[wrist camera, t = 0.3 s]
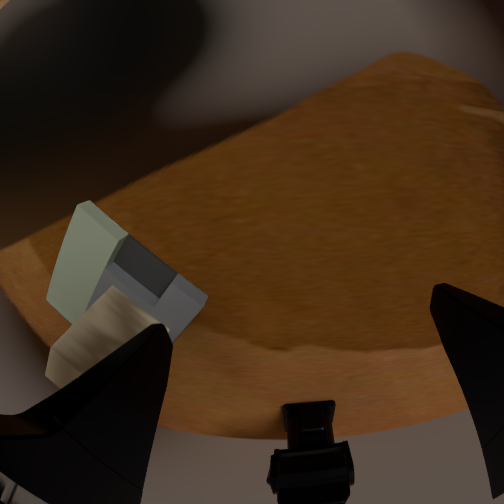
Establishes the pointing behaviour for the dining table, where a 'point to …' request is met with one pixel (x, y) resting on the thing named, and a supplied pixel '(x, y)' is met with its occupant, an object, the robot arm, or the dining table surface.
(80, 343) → the maple block
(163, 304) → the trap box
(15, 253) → the dining table surface
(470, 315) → the robot arm
